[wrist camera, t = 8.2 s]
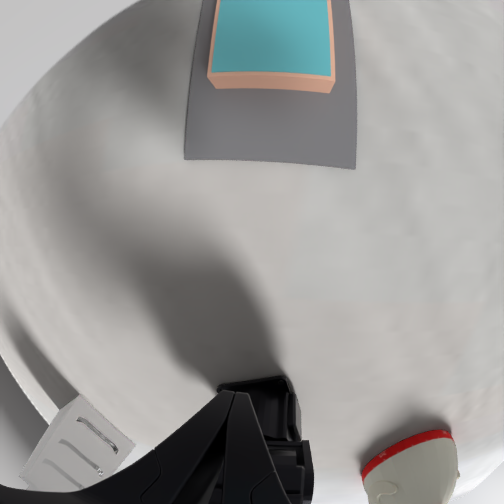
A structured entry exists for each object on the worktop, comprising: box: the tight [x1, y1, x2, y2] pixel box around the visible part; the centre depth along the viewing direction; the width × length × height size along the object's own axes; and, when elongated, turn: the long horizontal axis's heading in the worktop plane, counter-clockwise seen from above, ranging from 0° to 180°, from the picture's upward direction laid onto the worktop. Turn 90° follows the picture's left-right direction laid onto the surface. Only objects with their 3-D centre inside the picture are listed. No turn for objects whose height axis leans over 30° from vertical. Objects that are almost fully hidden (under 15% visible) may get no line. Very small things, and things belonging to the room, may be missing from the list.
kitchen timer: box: [362, 430, 460, 504], centre depth 17 cm, size 14×14×15 cm
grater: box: [19, 395, 136, 492], centre depth 20 cm, size 10×10×20 cm
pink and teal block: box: [207, 0, 335, 93], centre depth 14 cm, size 3×8×10 cm
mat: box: [184, 0, 357, 170], centre depth 16 cm, size 16×12×1 cm
